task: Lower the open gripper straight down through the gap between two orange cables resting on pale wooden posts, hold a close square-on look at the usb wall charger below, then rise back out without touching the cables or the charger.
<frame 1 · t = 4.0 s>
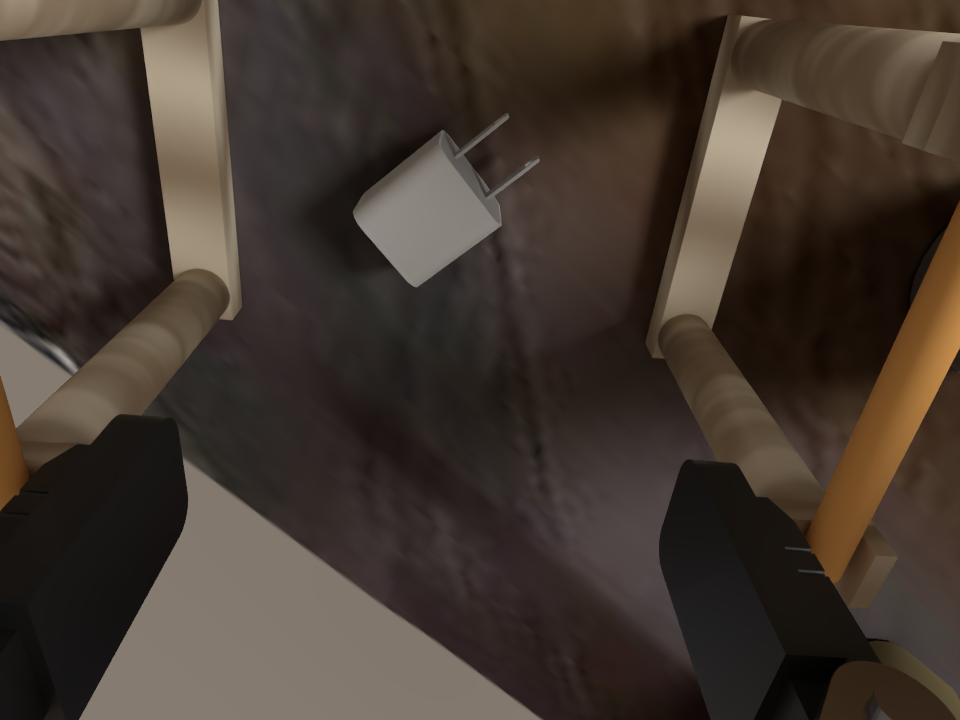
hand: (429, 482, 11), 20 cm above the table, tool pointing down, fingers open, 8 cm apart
inner cable: (909, 379, 15), point 15 cm above the table, touching cable frame
cable frame: (459, 175, 28), on the table
usb wall charger: (456, 176, 29), on the table
squeeze bottle: (861, 664, 45), on the table
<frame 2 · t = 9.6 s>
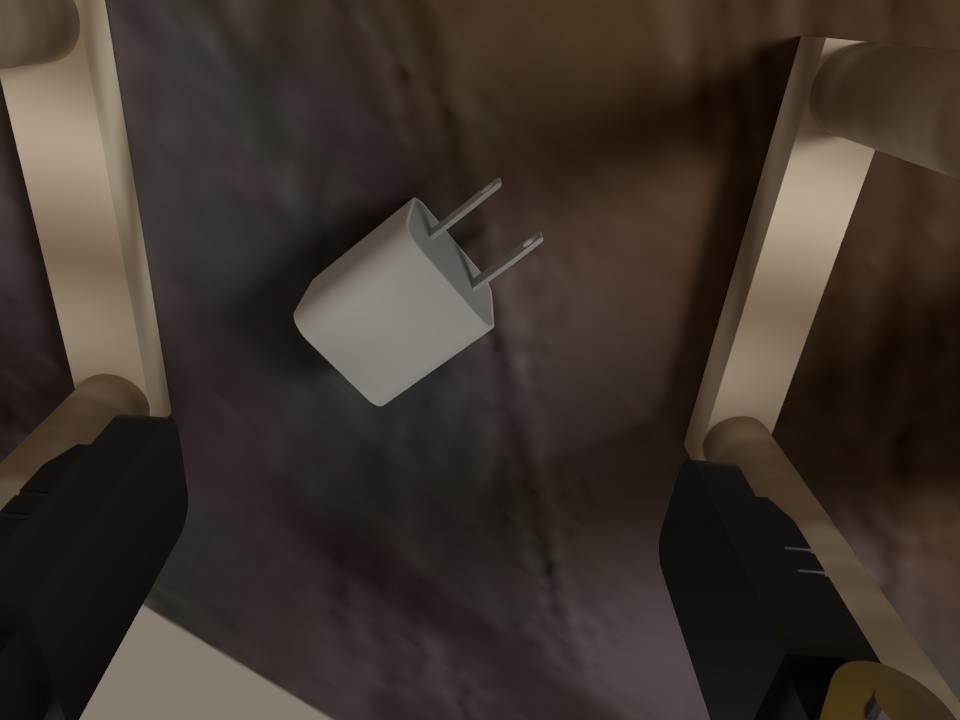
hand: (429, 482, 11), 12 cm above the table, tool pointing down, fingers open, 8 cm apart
cable frame: (444, 248, 22), on the table
usb wall charger: (434, 253, 22), on the table
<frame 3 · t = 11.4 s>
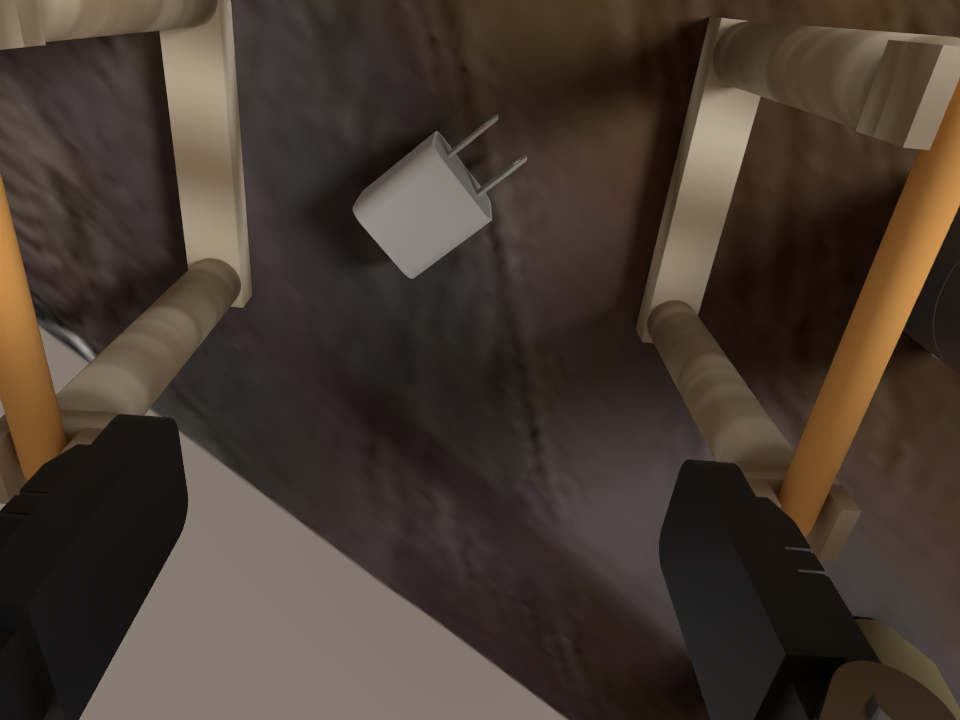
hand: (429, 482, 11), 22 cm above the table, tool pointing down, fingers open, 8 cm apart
inner cable: (866, 345, 17), point 15 cm above the table, touching cable frame
cable frame: (458, 169, 30), on the table
usb wall charger: (449, 175, 30), on the table
squeeze bottle: (847, 642, 46), on the table
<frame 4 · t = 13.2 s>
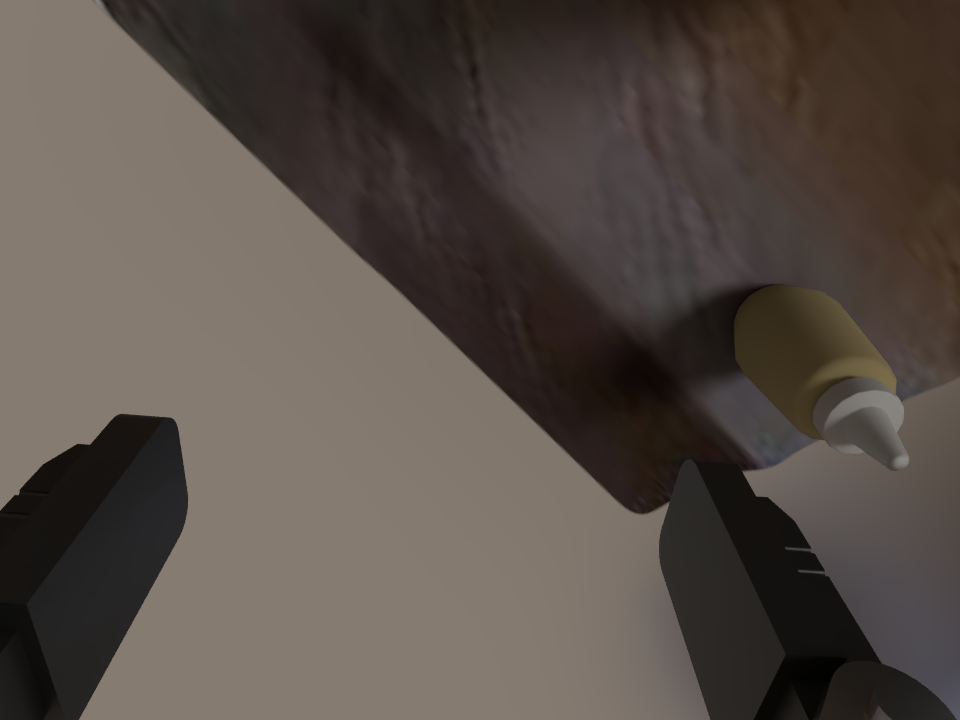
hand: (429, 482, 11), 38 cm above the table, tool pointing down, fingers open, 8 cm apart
squeeze bottle: (770, 316, 51), on the table
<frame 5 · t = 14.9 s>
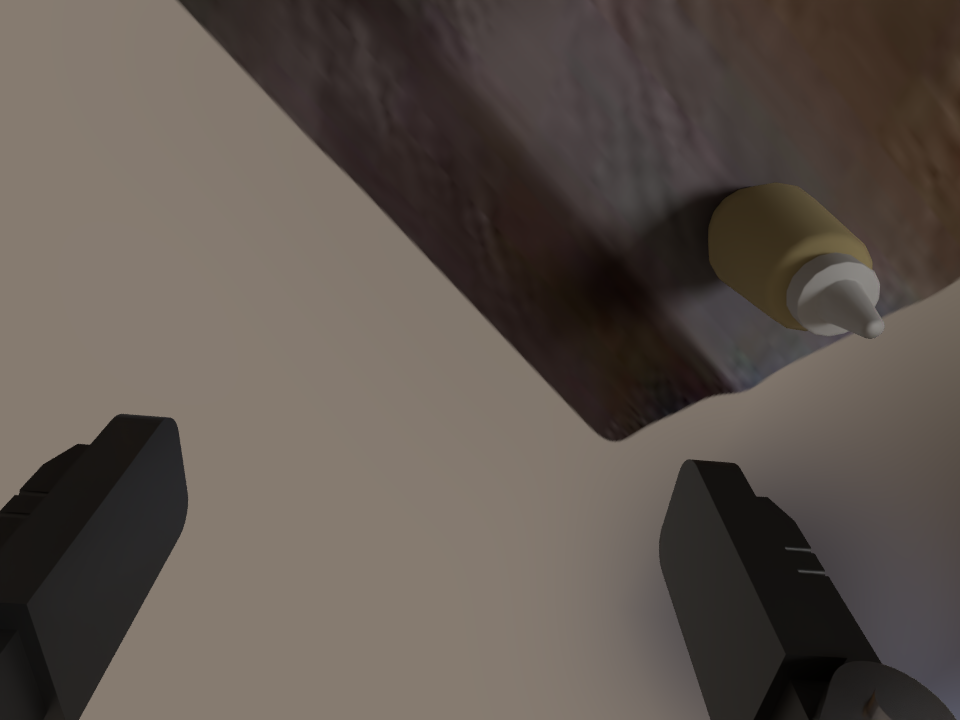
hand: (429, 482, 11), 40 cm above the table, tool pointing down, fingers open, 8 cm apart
squeeze bottle: (745, 223, 50), on the table
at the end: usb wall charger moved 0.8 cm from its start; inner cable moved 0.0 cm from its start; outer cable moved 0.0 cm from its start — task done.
